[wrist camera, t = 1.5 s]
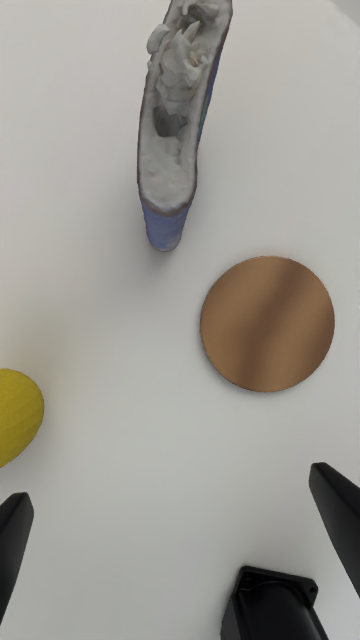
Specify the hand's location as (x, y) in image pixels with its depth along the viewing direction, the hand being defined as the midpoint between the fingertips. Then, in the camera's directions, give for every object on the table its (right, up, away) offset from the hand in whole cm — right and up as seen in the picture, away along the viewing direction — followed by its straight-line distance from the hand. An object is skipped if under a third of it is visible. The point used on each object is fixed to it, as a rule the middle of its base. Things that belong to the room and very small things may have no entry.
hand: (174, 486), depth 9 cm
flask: (0, +15, +11) cm, 18 cm away
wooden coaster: (+7, +5, +12) cm, 14 cm away
